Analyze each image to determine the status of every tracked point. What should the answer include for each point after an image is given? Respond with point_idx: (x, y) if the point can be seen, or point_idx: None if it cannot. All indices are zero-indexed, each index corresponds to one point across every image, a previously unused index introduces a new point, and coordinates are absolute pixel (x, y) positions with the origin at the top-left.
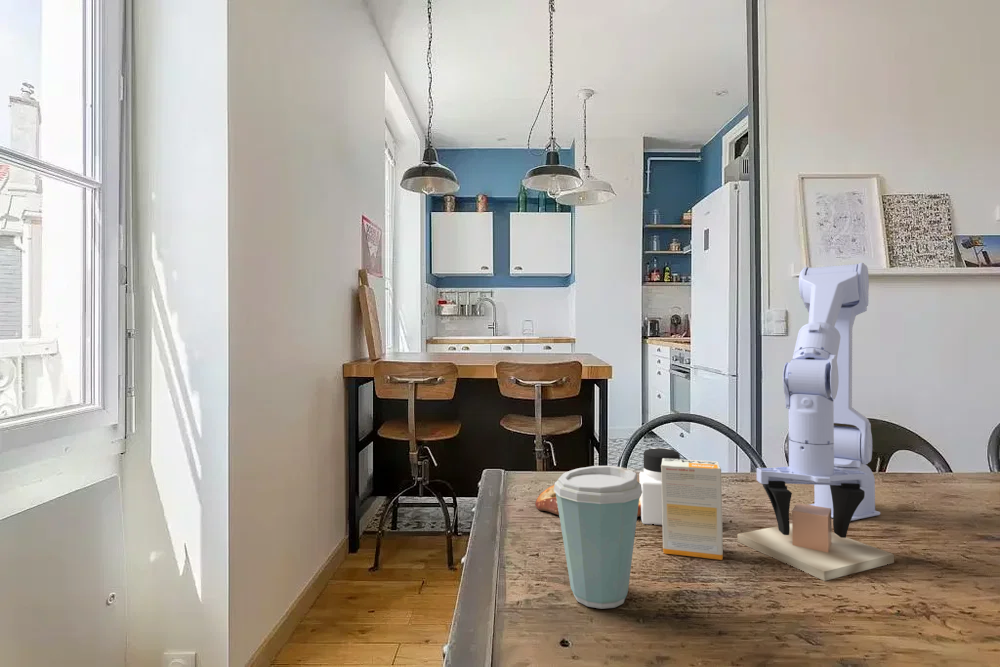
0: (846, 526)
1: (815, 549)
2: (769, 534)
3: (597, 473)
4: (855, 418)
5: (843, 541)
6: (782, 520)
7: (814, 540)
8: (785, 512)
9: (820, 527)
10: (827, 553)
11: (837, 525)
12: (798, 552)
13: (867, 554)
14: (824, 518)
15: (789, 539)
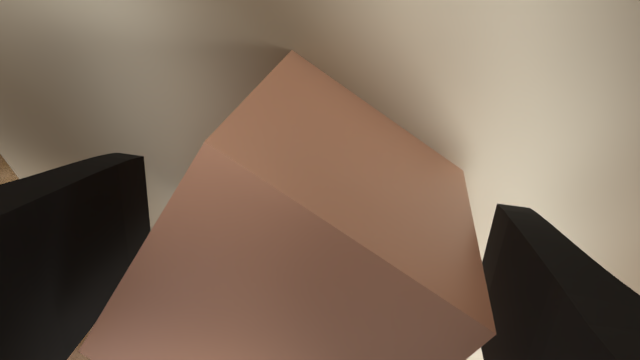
0: (63, 173)
1: (353, 93)
2: None
3: None
4: None
5: None
6: (595, 263)
7: (350, 117)
8: (606, 300)
9: (294, 135)
10: (303, 34)
11: (113, 236)
12: (506, 42)
13: (58, 26)
14: (240, 151)
15: None
